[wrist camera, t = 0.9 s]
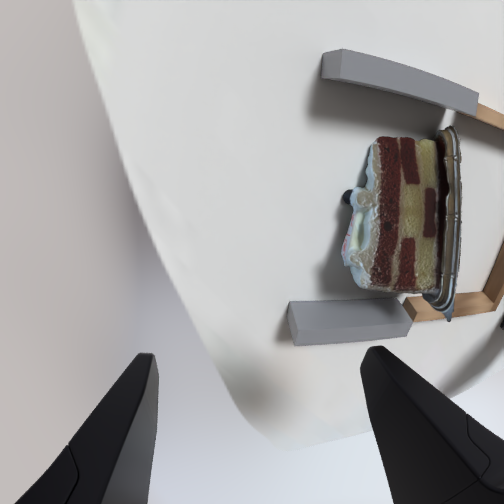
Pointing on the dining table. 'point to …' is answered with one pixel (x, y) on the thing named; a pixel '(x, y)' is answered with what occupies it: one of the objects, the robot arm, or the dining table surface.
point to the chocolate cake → (408, 219)
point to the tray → (500, 278)
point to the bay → (387, 309)
